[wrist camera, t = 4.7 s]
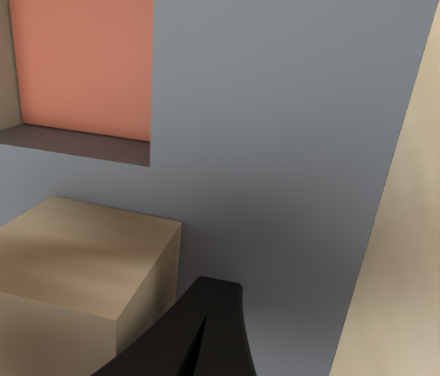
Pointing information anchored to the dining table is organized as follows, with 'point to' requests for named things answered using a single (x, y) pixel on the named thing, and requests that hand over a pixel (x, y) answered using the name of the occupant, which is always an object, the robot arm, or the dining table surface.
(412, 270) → the dining table surface
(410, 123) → the dining table surface
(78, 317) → the beech block
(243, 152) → the trap board
